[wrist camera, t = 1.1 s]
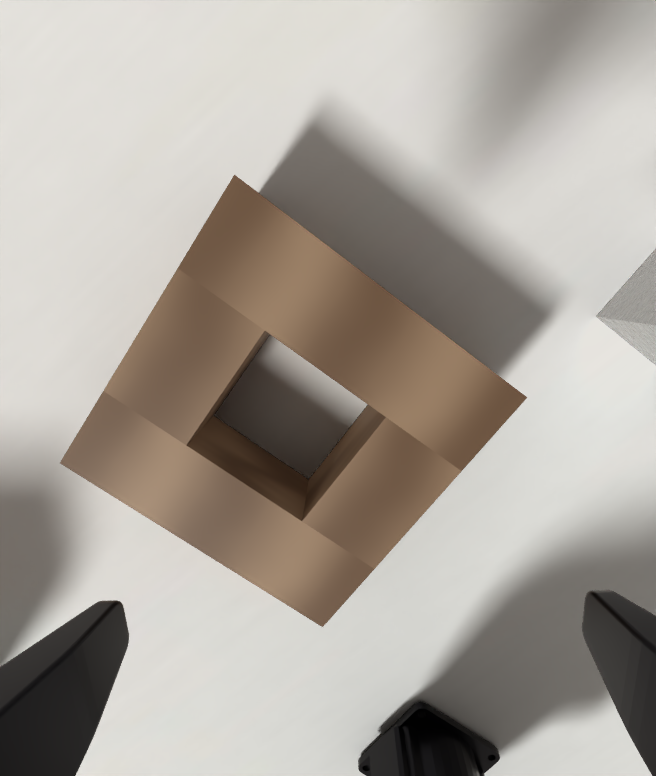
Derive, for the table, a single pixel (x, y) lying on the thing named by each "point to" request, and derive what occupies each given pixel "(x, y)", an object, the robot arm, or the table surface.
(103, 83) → the table surface
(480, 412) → the walnut socket block
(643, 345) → the grey metal peg
